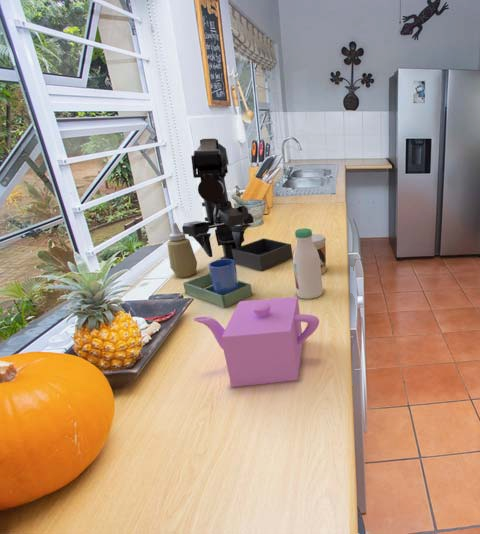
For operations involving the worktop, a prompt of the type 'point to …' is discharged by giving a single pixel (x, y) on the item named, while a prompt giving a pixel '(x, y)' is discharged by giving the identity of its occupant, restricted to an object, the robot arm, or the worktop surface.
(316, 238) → the coffee cup
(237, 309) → the teapot
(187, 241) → the squeeze bottle
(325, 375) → the worktop surface
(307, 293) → the milk bottle
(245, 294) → the divided tray
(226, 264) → the blue cup
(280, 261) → the black square tray
